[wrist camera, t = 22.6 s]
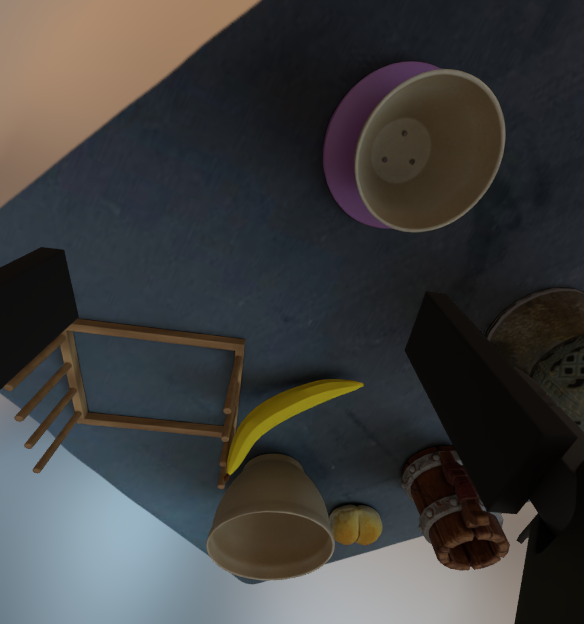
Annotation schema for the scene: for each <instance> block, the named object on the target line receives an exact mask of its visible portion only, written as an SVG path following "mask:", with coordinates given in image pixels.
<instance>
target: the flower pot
mask: <svg viewBox="0 0 584 624" xmlns="http://www.w3.org/2000/svg"><path fill="white" fill-rule="evenodd" d="M402 132H404V134H403V135H402ZM504 145H505V124H504V117H503V114H502V110H501V107H500V105H499V102H498V100H497V99H496V97H495V95H494V94H493V92H492V91H491V90H490V89H489V87H488V86H487V85H485V84H484V83H483V82H482V81H481V80H479V79H478V78H476V77H475V76H473V75H471V74H468V73H466V72H462V71H458V70H452V69H438V70H432V71H428V72H424V73H421V74H418V75H416V76H414V77H411V78H410V79H408V80H406V81H404V82H403V83H401V84H400V85H398V86H397V87H395V88H394V89H393V90H392V91H390V92H389V93H388V94H387V95H386V96H385V97H384V98H383V99H382V100H381V101H380V102H379V103H378V104H377V105H376V107H375V108H374V109H373V111H372V112H371V114H370V115H369V117H368V118H367V120H366V122H365V124H364V125H363V128H362V130H361V132H360V135H359V138H358V141H357V145H356V149H355V156H354V174H355V181H356V185H357V189H358V192H359V194H360V197H361V199H362V201H363V203H364V205H365V206H366V208H367V209H368V210H369V212H370V213H371V214H372V215H373V216H374V217H375V218H376V219H377V220H379V221H380V222H382V223H383V224H385V225H386V226H388V227H391V228H393V229H396V230H400V231H406V232H424V231H430V230H435V229H438V228H441V227H443V226H445V225H448V224H450V223H452V222H453V221H455V220H457V219H458V218H460V217H461V216H463V215H464V214H465V213H466V212H468V211H469V210H470V209H471V208H472V207H473V206H474V205H475V204H476V203H477V202H478V201H479V200H480V199H481V198H482V196H483V195H484V194H485V192H486V191H487V190H488V188H489V186H490V185H491V183H492V181H493V179H494V177H495V175H496V173H497V171H498V169H499V166H500V163H501V160H502V156H503V151H504ZM385 159H387V161H386V162H383V161H384V160H385ZM411 159H413V160H414V162H412V161H411Z"/></svg>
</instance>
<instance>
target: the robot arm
mask: <svg viewBox="0 0 584 624" xmlns="http://www.w3.org/2000/svg"><path fill="white" fill-rule="evenodd" d="M77 318H79V316H78V312H77V307H76V302H75V298H74V293H73V289H72V284H71V279H70V275H69V270H68V266H67V261H66V256H65V252H64V250H61V249H53V248H44V247H41V248H39V249H37V250H35V251H33V252H31V253H29V254H27V255H25V256H23V257H21V258H19V259H17V260H15V261H13V262H11V263H9V264H7V265H5V266H3V267H1V268H0V389H2V388H3V387H4V386H5V385H6V384H7V383H8V382H9V381H10V380H11V379H12V378H13V377H15V376H16V375H17V374H18V373H19V372H20V371H21V370H22V369H23V368H24V367H25V366H26V365H28V364H29V363H30V362H31V361H32V360H33V359H34V358H35V357H36V356H37V355H38V354H39V353H41V352H42V351H43V350H44V349H45V348H46V347H47V346H48V345H49V344H50V343H51V342H53V341H54V340H55V339H56V338H57V337H58V336H59V335H60V334H61V333H62V332H63V331H64V330H66V329H67V328H68V327H69V326H70V325H71V324H72V323H73V322H74V321H75V320H76V319H77ZM405 352H406V354H407V356H408V358H409V360H410V362H411V364H412V366H413V368H414V370H415V372H416V374H417V376H418V378H419V380H420V381H421V383H422V385H423V387H424V389H425V391H426V393H427V395H428V397H429V399H430V401H431V403H432V405H433V407H434V409H435V411H436V413H437V415H438V417H439V419H440V421H441V423H442V425H443V427H444V429H445V431H446V432H447V434H448V436H449V438H450V440H451V442H452V444H453V446H454V448H455V450H456V452H457V454H458V456H459V458H460V460H461V462H462V464H463V466H464V468H465V470H466V472H467V474H468V476H469V478H470V480H471V482H472V483H473V485H474V487H475V489H476V491H477V493H478V495H479V497H480V499H481V501H482V503H483V505H484V507H485V509H486V511H487V512H494V513H509V514H517V513H518V512H519V511H520V509H521V508H522V507H523V506H524V504H525V503H526V502H527V501H528V499H530V501H531V503H532V504H533V505H534V507H535V509H536V510H537V512H538V514H537V515H536V516H535V518H534V519H533V520H532V521H531V522H530V524H529V525H528V526H527V527H526V528H525V529H524V530H523V531H522V533H521V534H520V535H519V537H518V539H517V541H518V542H520V543H521V544H522V543H523V542H524V540H525V539H526V538H529V540H528V546H527V552H526V558H525V564H524V570H523V576H522V582H521V588H520V594H519V600H518V606H517V612H516V618H515V624H584V432H583V431H582V430H581V429H580V427H579V426H578V425H577V424H576V423H575V422H574V421H573V420H572V419H571V418H570V417H569V416H568V415H567V414H566V413H565V412H564V411H563V410H562V409H561V408H560V407H557V403H556V402H555V401H554V400H553V399H552V398H551V397H550V396H549V395H546V392H545V391H544V390H543V389H542V388H541V387H540V386H539V385H538V384H537V382H536V381H535V380H534V379H532V378H531V377H529V376H528V375H526V374H525V373H524V372H522V371H521V370H519V369H518V368H516V367H513V366H512V365H511V364H510V363H509V362H508V361H507V360H506V359H505V358H504V357H503V356H502V354H501V353H500V352H499V351H498V350H497V349H496V348H495V347H494V346H493V345H492V344H491V342H490V341H489V340H488V339H487V338H486V337H485V336H484V335H483V334H482V333H481V332H480V331H479V329H478V328H477V327H476V326H475V325H474V324H473V323H472V322H471V321H470V320H469V319H468V317H467V316H466V315H465V314H464V313H463V312H462V311H461V310H460V309H459V308H458V307H457V306H456V304H455V303H454V302H453V301H452V300H451V299H450V298H449V297H448V296H447V295H446V294H444V293H435V292H427V291H426V293H425V296H424V298H423V301H422V304H421V307H420V310H419V312H418V315H417V318H416V321H415V323H414V326H413V329H412V332H411V334H410V337H409V340H408V343H407V345H406V348H405Z"/></svg>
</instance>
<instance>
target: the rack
mask: <svg viewBox="0 0 584 624" xmlns="http://www.w3.org/2000/svg"><path fill="white" fill-rule="evenodd" d="M73 331H77V332H85V333H93V334H102V335H110V336H118V337H127V338H135V339H143V340H151V341H160V342H168V343H176V344H184V345H193V346H201V347H209V348H217V349H226V350H234V351H235V360H234V366H233V370H232V375H231V379H230V383H229V388H228V392H227V396H226V400H225V405H224V409H223V412H224V413H225V414H226V418H225V423H224V426H217V425H207V424H197V423H188V422H178V421H168V420H158V419H149V418H139V417H129V416H119V415H110V414H100V413H90V412H88V407H87V402H86V397H85V392H84V387H83V382H82V377H81V372H80V366H79V361H78V356H77V351H76V346H75V341H74V336H73ZM245 341H246V340H245V339H237V338H229V337H221V336H213V335H205V334H197V333H189V332H181V331H173V330H165V329H157V328H149V327H141V326H133V325H125V324H116V323H108V322H100V321H92V320H84V319H76V320H75V321H74V322H73V323H72V324H71V325H70V326H69V327H68V328H67V329H66V330H64V331H63V332H62V333H61V334H60V335H59V336H58V337H57V338H56V339H55V340H54V341H53V342H51V343H50V344H49V345H48V346H47V347H46V348H45V349H44V350H43V351H42V352H41V353H39V354H38V355H37V356H36V357H35V358H34V359H33V360H32V361H31V362H30V363H29V364H28V365H26V366H25V367H24V368H23V369H22V370H21V371H20V372H19V373H18V374H17V375H16V376H15V377H13V378H12V379H11V380H10V381H9V382H8V383H7V384H6V385H5V386H4V389H6V390H7V391H12V390H13V389H14V388H15V387H16V386H17V385H18V384H20V383H21V382H22V381H23V380H24V379H25V378H26V377H27V376H28V375H29V374H30V373H31V372H32V371H33V370H34V369H35V368H36V367H37V366H38V365H39V364H41V363H42V362H43V361H44V360H45V359H46V358H47V357H48V356H49V355H50V354H51V353H52V352H53V351H54V350H55V349H56V348H57V347H58V346H59V345H60V347H61V351H62V356H63V360H64V365H63V366H62V367H61V368H60V369H59V370H58V371H57V372H56V373H55V375H54V376H53V377H52V378H51V379H50V380H49V381H48V382H47V383H46V384H45V385H44V386H43V387H42V388H41V389H40V390H39V391H38V393H37V394H36V395H35V396H34V397H33V398H32V399H31V400H30V401H29V402H28V403H27V404H26V405H25V406H24V407H23V408H22V409H21V410H20V412H19V413H18V414H17V415H16V416H15V417H14V418H15V420H16V421H19V422H21V421H23V420H24V419H25V418H26V417H27V416H28V415H29V413H30V412H31V411H32V410H33V409H34V408H35V407H36V406H37V405H38V403H39V402H40V401H41V400H42V399H43V398H44V397H45V396H46V395H47V394H48V392H49V391H50V390H51V389H52V388H53V387H54V386H55V385H56V384H57V382H58V381H59V380H60V379H61V378H62V377H63V376H64V375H65V374H67V378H68V383H69V387H70V390H69V391H68V393H67V394H66V395H65V396H64V397H63V399H62V400H61V401H60V402H59V403H58V405H57V406H56V407H55V408H54V409H53V411H52V412H51V413H50V414H49V415H48V417H47V418H46V419H45V420H44V421H43V423H42V424H41V425H40V426H39V427H38V429H37V430H36V431H35V432H34V433H33V435H32V436H31V437H30V438H29V439H28V441H27V442H26V443H25V444H24V446H25V447H26V448H28V449H31V448H32V447H33V446H34V445H35V444H36V442H37V441H38V440H39V439H40V437H41V436H42V435H43V434H44V432H45V431H46V430H47V429H48V427H49V426H50V425H51V424H52V422H53V421H54V420H55V419H56V417H57V416H58V415H59V414H60V412H61V411H62V410H63V409H64V407H65V406H66V405H67V404H68V402H69V401H70V400H71V399H72V401H73V405H74V410H75V414H74V415H73V416H72V418H71V419H70V420H69V422H68V423H67V424H66V426H65V427H64V428H63V430H62V431H61V432H60V434H59V435H58V436H57V438H56V439H55V440H54V442H53V443H52V444H51V446H50V447H49V448H48V450H47V451H46V452H45V454H44V455H43V457H42V458H41V459H40V460H39V462H38V463H37V464H36V466H35V467H34V468H33V472H34V473H40V472H41V470H42V469H43V468H44V466H45V465H46V463H47V462H48V461H49V459H50V458H51V457H52V455H53V454H54V452H55V451H56V450H57V448H58V447H59V445H60V444H61V443H62V441H63V440H64V439H65V437H66V436H67V434H68V433H69V432H70V430H71V429H72V427H73V426H74V425H75V423H76V422H77V423H81V424H91V425H101V426H111V427H121V428H131V429H141V430H151V431H161V432H171V433H181V434H191V435H201V436H211V437H221V440H222V441H223V442H224V443H223V448H222V453H221V458H220V462H219V465H220V466H222V467H221V472H220V477H219V482H218V488H219V489H224V487H225V481H224V476H225V475H226V473H227V460H228V455H229V450H230V447H231V444H232V441H233V438H234V435H235V433H236V427H237V417H238V407H239V398H240V388H241V379H242V369H243V360H244V350H245Z"/></svg>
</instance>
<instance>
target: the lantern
mask: <svg viewBox="0 0 584 624" xmlns="http://www.w3.org/2000/svg"><path fill="white" fill-rule="evenodd" d="M486 338H487V339H488V340H489V341H490V342H491V344H492V345H493V346H494V347H495V348H496V349H497V350H498V351H499V352H500V353H501V354H502V356H503V357H504V358H505V359H506V360H507V361H508V362H509V363H510V364H511V365H512V366H513V367H516V368H518V369H519V370H521V371H522V372H524V373H525V374H526V375H528V376H529V377H531V378H532V379H534V380H535V381H536V382H537V384H538V385H539V386H540V387H541V388H542V389H543V390H544V391H545V392H546V395H549V396H550V397H551V398H552V399H553V400H554V401H555V402H556V403H557V407H560V408H561V409H562V410H563V411H564V412H565V413H566V414H567V415H568V416H569V417H570V418H571V419H572V420H573V421H574V422H575V423H576V424H577V425H578V426H579V427H580V429H581V430H582V431H583V432H584V293H583V292H581V291H578V290H576V289H571V288H551V289H547V290H542V291H538V292H534V293H532V294H530V295H528V296H526V297H524V298H522V299H520V300H518V301H516V302H514V303H513V304H512V305H511V306H509V307H508V308H507V309H506V310H504V311H503V312H502V313H501V314H499V316H498V317H497V318H496V320H495V321H494V322H493V324H492V325H491V326H490V328H489V329H488V331H487V334H486Z"/></svg>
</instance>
